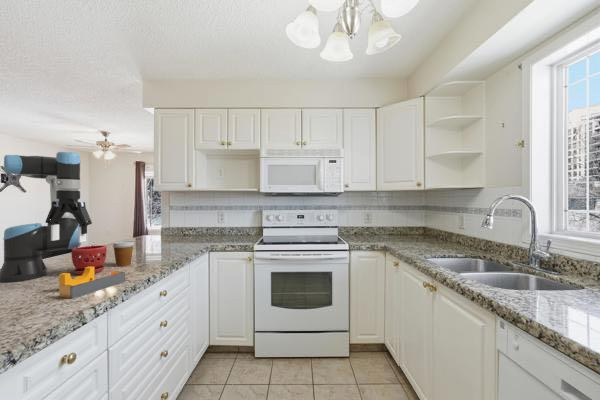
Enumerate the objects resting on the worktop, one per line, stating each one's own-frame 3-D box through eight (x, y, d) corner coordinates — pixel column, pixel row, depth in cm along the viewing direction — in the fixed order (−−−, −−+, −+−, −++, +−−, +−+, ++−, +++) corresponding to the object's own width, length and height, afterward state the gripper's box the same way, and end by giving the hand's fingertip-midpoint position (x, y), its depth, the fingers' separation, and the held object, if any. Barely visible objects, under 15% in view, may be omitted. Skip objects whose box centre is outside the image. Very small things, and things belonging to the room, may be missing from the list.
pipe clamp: (85, 281, 114) (85, 266, 114) (94, 282, 114) (94, 266, 114) (55, 290, 103) (55, 274, 103) (64, 291, 102) (64, 274, 102)
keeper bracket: (59, 296, 96) (59, 285, 96) (113, 280, 115) (113, 270, 115) (72, 298, 94) (72, 287, 94) (125, 281, 113) (125, 272, 113)
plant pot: (113, 269, 133) (113, 245, 133) (85, 277, 120) (85, 250, 120) (93, 267, 136) (93, 244, 136) (64, 274, 124) (64, 248, 123)
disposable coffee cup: (107, 267, 138) (107, 243, 137) (123, 262, 147) (123, 240, 147) (124, 267, 136) (124, 244, 136) (138, 263, 145) (138, 241, 145)
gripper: (33, 189, 110) (34, 241, 111) (85, 190, 106) (85, 244, 106) (53, 189, 118) (53, 238, 118) (102, 190, 113) (102, 241, 114)
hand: (68, 241), depth 112 cm, fingers open, 13 cm apart
